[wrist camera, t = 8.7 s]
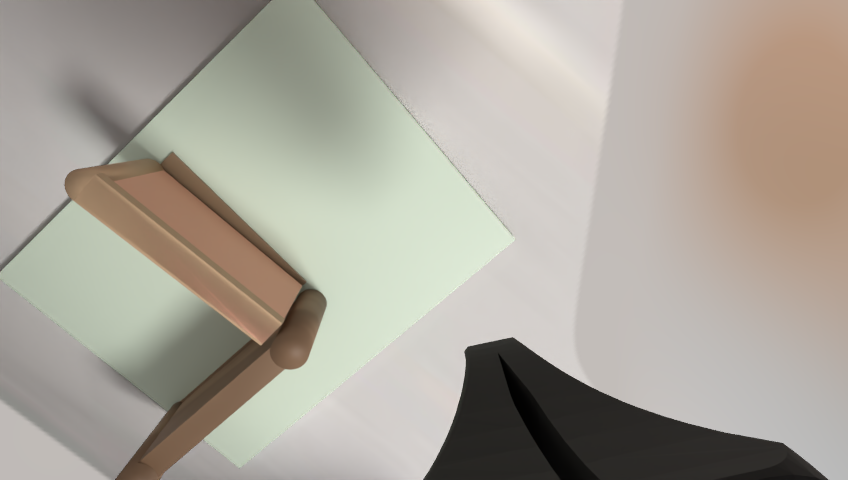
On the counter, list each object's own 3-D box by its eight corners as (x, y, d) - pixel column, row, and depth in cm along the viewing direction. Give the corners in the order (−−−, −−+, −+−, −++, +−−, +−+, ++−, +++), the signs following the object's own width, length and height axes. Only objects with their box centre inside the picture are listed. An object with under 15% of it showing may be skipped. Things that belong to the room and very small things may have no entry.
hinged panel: (146, 152, 18) (79, 160, 14) (303, 284, 20) (282, 323, 16) (127, 173, 18) (56, 187, 14) (286, 302, 20) (260, 345, 16)
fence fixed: (333, 304, 21) (317, 353, 16) (186, 430, 22) (134, 508, 17) (311, 283, 20) (289, 327, 16) (163, 413, 21) (105, 487, 17)
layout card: (514, 237, 21) (516, 240, 20) (241, 464, 23) (239, 470, 22) (296, -21, 17) (294, -24, 17) (2, 273, 20) (-7, 276, 19)
